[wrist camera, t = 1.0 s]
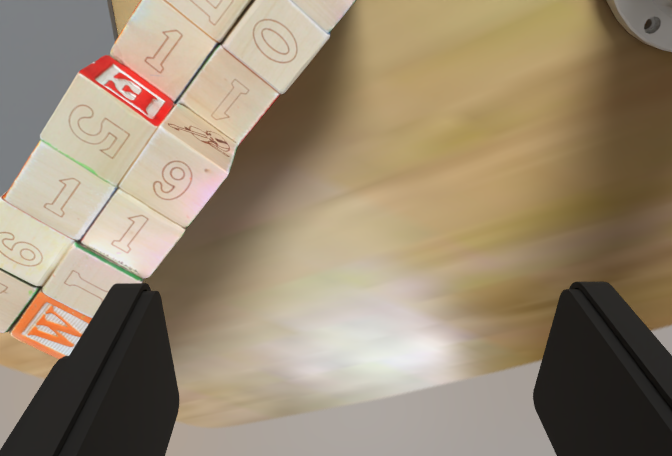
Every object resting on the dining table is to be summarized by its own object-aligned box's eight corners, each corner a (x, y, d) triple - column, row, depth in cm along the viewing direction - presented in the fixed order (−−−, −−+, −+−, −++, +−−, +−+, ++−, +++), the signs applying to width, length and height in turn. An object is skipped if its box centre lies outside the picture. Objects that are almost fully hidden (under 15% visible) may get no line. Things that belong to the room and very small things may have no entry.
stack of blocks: (264, -133, 25) (243, -195, 14) (359, -37, 27) (404, -26, 16) (51, 181, 31) (-74, 303, 21) (142, 236, 34) (71, 372, 23)
